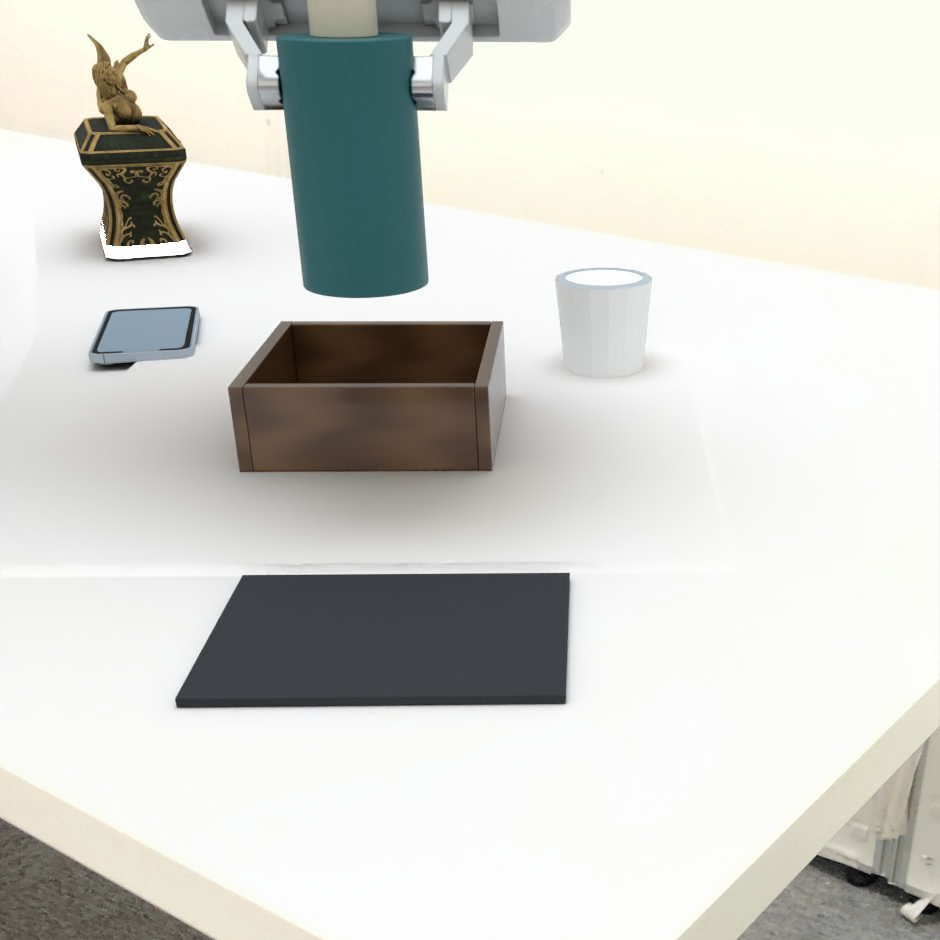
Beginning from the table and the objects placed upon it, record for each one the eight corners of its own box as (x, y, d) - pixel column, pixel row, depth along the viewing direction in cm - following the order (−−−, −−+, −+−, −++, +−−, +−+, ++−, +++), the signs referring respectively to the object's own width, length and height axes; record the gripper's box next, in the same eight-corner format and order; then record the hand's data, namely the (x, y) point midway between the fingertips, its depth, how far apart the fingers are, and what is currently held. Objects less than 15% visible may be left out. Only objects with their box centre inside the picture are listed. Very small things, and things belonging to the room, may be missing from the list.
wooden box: (240, 481, 77) (227, 387, 75) (290, 403, 90) (281, 321, 88) (492, 480, 78) (488, 386, 75) (506, 402, 91) (503, 320, 88)
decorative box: (204, 258, 130) (173, 37, 121) (99, 266, 127) (59, 39, 117) (183, 222, 146) (154, 25, 137) (90, 228, 143) (54, 26, 134)
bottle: (292, 298, 62) (253, -39, 55) (315, 270, 67) (282, -41, 61) (421, 298, 62) (398, -38, 56) (434, 269, 67) (414, -41, 61)
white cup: (668, 379, 96) (670, 281, 92) (584, 393, 93) (582, 292, 89) (622, 355, 101) (622, 262, 98) (541, 368, 98) (538, 271, 95)
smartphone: (200, 305, 110) (193, 349, 97) (201, 316, 111) (194, 362, 98) (105, 309, 109) (86, 355, 96) (107, 321, 109) (88, 368, 96)
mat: (176, 707, 55) (174, 698, 54) (243, 581, 65) (242, 574, 65) (565, 703, 55) (565, 694, 55) (569, 579, 66) (569, 572, 66)
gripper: (121, -199, 61) (91, 51, 57) (568, -194, 62) (569, 53, 58) (164, -86, 67) (139, 146, 63) (571, -83, 68) (572, 147, 64)
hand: (349, 102), depth 60 cm, fingers closed on bottle, 6 cm apart
